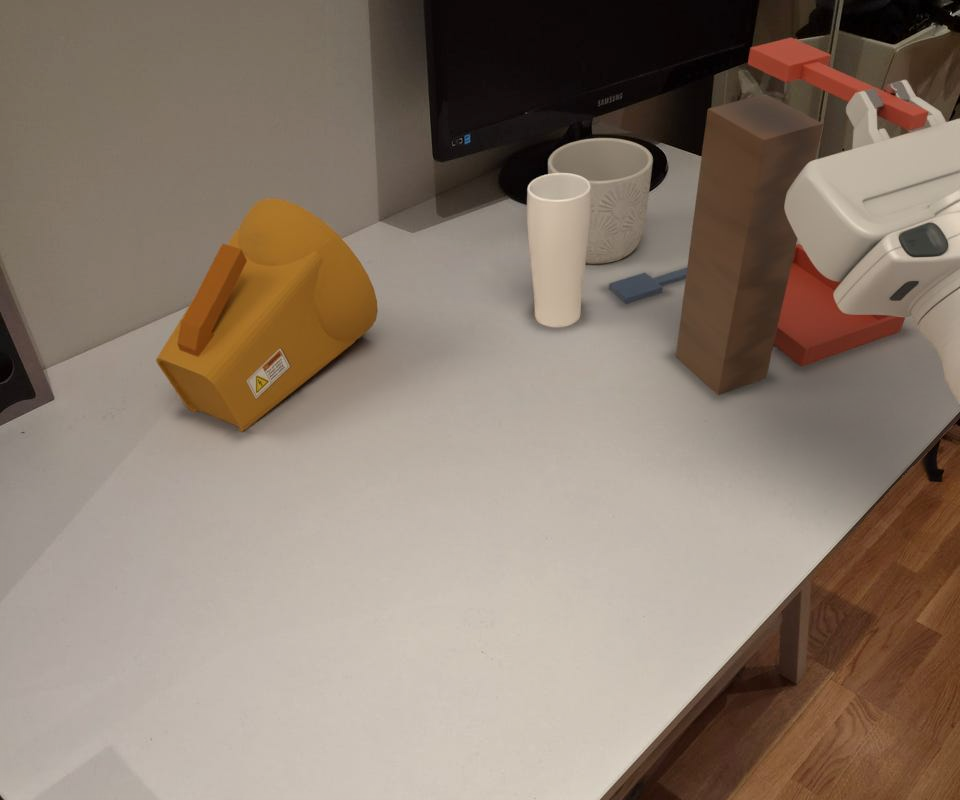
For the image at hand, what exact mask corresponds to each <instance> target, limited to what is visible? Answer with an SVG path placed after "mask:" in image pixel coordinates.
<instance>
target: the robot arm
mask: <svg viewBox="0 0 960 800" xmlns="http://www.w3.org/2000/svg"><path fill="white" fill-rule="evenodd" d="M883 91H885V92H887V93H889V94H891V95H893V96H896V97H898V98H900V99H902V100H905V101H907V102H909V103H911V104H914V105H916V106H918V107H920V108H923V109H925V110H927V111H929V113H928V116H927V120H926V123H925V126H924V127H920V128H917V129H913V130H910V131H909V130H907V129H905V130H906V131H907V133H904V134H900V135H897V136H894V137H890V134H889V133H888V132H887V130H886V128H884V127H881V128H879V129H878V116H877V114H879V113H880V111H881V110H882V109H883V107H884V106H885V105H884V103H883V101H882V99H881V97H879V96H878V91H877V90H876V89H875V88H873V89H869V90H865V91H861V92H857V93H855V94H854V96H853V97H852V98H851V100H850V101H849V102H847V104H846V106H845V114H846V115H847V117H848V119H849V121H850V123H851V125H852V127H853V131H852V146H851V149H848V150H845V151H841V152H837V153H835V154H831V155H828V156H824V157H820V158H816V159H815V160H813V161H811V162H809V163H808V164H807V165H806V166H805V167H804V168H803V170H802V171H801V172H800V174H799V175H798V176H797V178H796V179H795V181H794V182H793V183H792V185H791V186H790V188H789V189H788V191H787V194H786V199H785V205H784V209H785V213H786V216H787V218H788V221H789V223H790V225H791V227H792V229H793V231H794V233H795V235H796V236H797V238H798V239H797V241H798V243H799V244H800V245H801V246H802V247H803V249H804V251H805V252H806V254H807V255H808V257H809V259H810V260H811V262H812V263H813V265H814V266H815V267H816V269H817V270H818V271H819V272H820V273H821V274H822V275H823V276H825V277H826V278H828V279H830V280H833V281H837V282H841V283H840V284H839V286H838V287H837V288H836V289H835V291H834V293H833V296H834V300H835V302H836V304H837V306H838V308H839V309H840V310H841V311H842V312H843V313H845V314H850V315H889V316H898V317H905V318H910V317H911V318H912V319H913V322H914V323H915V326H916V327H917V329H918V331H919V332H920V333H921V335H922V336H923V337H924V338H926V340H928V341H929V342H930V343H931V344H932V346H933V347H934V348H935V350H936V351H937V353H938V355H939V358H940V360H941V364H942V370H943V375H944V379H945V382H946V384H947V387H949V389H950V391H951V393H952V395H953V397H954V399H955V400H956V402H957V404H958V406H960V118H956V119H953V120H949V121H947V120H946V119H945V117H944V115H943V114H942V111H940V110H939V109H938V108H936V107H934V106H933V105H931V104H930V103H929V102H927V101H926V100H924V99H922V98H920V97H919V96H916V94H915V91H914V90H913V88H912V86H911V85H910V83H909V80H907V79H901V80H897V81H895V82H891V83H888V84H886V85H885V86H884V87H883Z"/></svg>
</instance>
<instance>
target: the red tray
mask: <svg viewBox="0 0 960 800" xmlns="http://www.w3.org/2000/svg"><path fill="white" fill-rule="evenodd" d="M840 283H841V282H837V281H833V280H830V279H828V278H826V277H825V276H823V275H822V274H821V273H820V272H819V271H818V270H817V269H816V267H815V266H814V265H813V263H812V262H811V260H810V259H809V257H808V255H807V254H806V252H805V251H804V249H803V247H802V245H801V244H800V243H796V248H795V252H794V257H793V261H792V265H791V270H790V274H789V279H788V283H787V287H786V292H785V296H784V301H783V305H782V310H781V314H780V318H779V323H778V327H777V332H776V336H775V340H774V345H773V347H776V348H777V349H778V350H779V351H781V352H782V353H783V354H785V355H786V356H787V357H788V358H790V359H791V360H792V361H794V362H795V363H797V365H799V366H800V367H804V366H807V365H811V364H812V363H815V362H818V361H821V360H824V359H827V358H830V357H833V356H835V355H838V354H841V353H845V352H847V351H850V350H852V349H855V348H859V347H860V346H864V345H867V344H869V343H872V342H875V341H878V340H880V339H883V338H886V337H889V336H892V335H894V334H897V333H900V332H901V331H902V328H903V326H904V322H905V320H906V317H898V316H889V315H850V314H845V313H843V312H842V311H841V310H840V309H839V308H838V306H837V304H836V302H835V300H834V296H833V293H834V291H835V289H836V288H837V287H838V286H839V284H840Z"/></svg>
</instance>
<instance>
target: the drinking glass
mask: <svg viewBox="0 0 960 800" xmlns="http://www.w3.org/2000/svg"><path fill="white" fill-rule="evenodd" d="M590 220H591V184H590V182H589V181H588V180H587V179H585V178H584V177H582V176H579V175H576V174H571V173H552V174H548V173H547V174H544V175H540V176H538V177H536V178H534V179H532V180H531V181H530V182H529V184H528V185H527V189H526V227H527V228H526V229H527V240H528V249H529V260H530V269H531V279H532V288H533V299H534V318H535V320H536V321H537V322H538V323H539V324H540V325H543V326H544V327H549V328H564V327H565V328H566V327H568V326H571V325H574V324H576V323H577V322H578V321H579V319H580V318H581V314H582V298H583V297H582V296H583V290H584V289H583V287H584V279H585V273H586V256H587V248H588V240H589V232H590Z"/></svg>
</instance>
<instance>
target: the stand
mask: <svg viewBox="0 0 960 800" xmlns="http://www.w3.org/2000/svg"><path fill="white" fill-rule="evenodd" d="M823 128H824V123H823V122H821V121H819V120H817V119H816V118H813V117H812V116H809V115H807V114H806V113H803V112H802V111H800V110H797V109H796V108H794V107H791V106H790V105H788V104H786V103H784V102H782V101H780V100H778V99H776V98H774V97H772V96H770V95H768V94H766V93H762V94H758V95H755V96H751V97H747V98H744V99H740V100H736V101H732V102H729V103H725V104H720V105H716V106H713V107H710V108H708V109H707V112H706V119H705V128H704V133H703V134H704V135H703V143H702V150H701V158H700V167H699V173H698V182H697V190H696V197H695V204H694V213H693V220H692V227H691V235H690V244H689V250H688V256H687V257H688V258H687V264H686V266H687V267H686V268H687V273H686V279H685V281H684V288H683V296H682V305H681V310H680V311H681V312H680V319H679V327H678V333H677V334H678V336H677V343H676V351H675V359H677V360H678V361H679V362H680V363H681V364H682V365H684V367H686V368H687V369H688V370H689V371H690V372H691V373H692V374H694V375H695V376H696V377H697V378H698V379H699V380H700V381H701V382H702V383H703V384H705V385H706V387H708V388H709V389H710V390H711V391H713V392H714V393H715V394H716V395H717V396H720V395H723V394H726V393H728V392H731V391H734V390H737V389H740V388H742V387H743V388H744V387H746V386H748V385H750V384H755V383H756V382H759V381H763V380H765V379H767V375H768V371H769V367H770V362H771V358H772V354H773V353H772V352H773V350H774V340H775V336H776V332H777V327H778V323H779V318H780V314H781V310H782V305H783V301H784V296H785V292H786V287H787V283H788V279H789V274H790V270H791V265H792V261H793V257H794V252H795V248H796V244H798V238H797V236H796V235H795V233H794V231H793V229H792V227H791V225H790V223H789V221H788V218H787V216H786V213H785V209H784V205H785V199H786V194H787V191H788V189H789V188H790V186H791V185H792V183H793V182H794V181H795V179H796V178H797V176H798V175H799V174H800V172H801V171H802V170H803V168H804V167H805V166H806V165H807V164H808V163H809V162H811V161H813V160H816V159H817V155H818V150H819V146H820V142H821V137H822V133H823Z"/></svg>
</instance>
